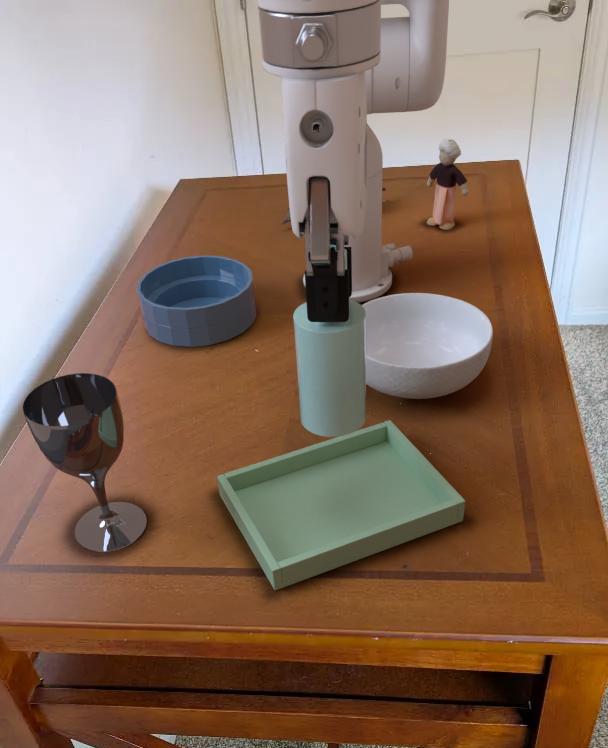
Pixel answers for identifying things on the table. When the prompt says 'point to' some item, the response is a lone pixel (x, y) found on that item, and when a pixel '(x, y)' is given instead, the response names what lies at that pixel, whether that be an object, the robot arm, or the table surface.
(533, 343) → the table surface
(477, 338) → the cereal bowl
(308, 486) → the tray
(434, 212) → the grandmother figurine
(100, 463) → the wine glass
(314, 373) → the bottle
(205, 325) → the bowl
